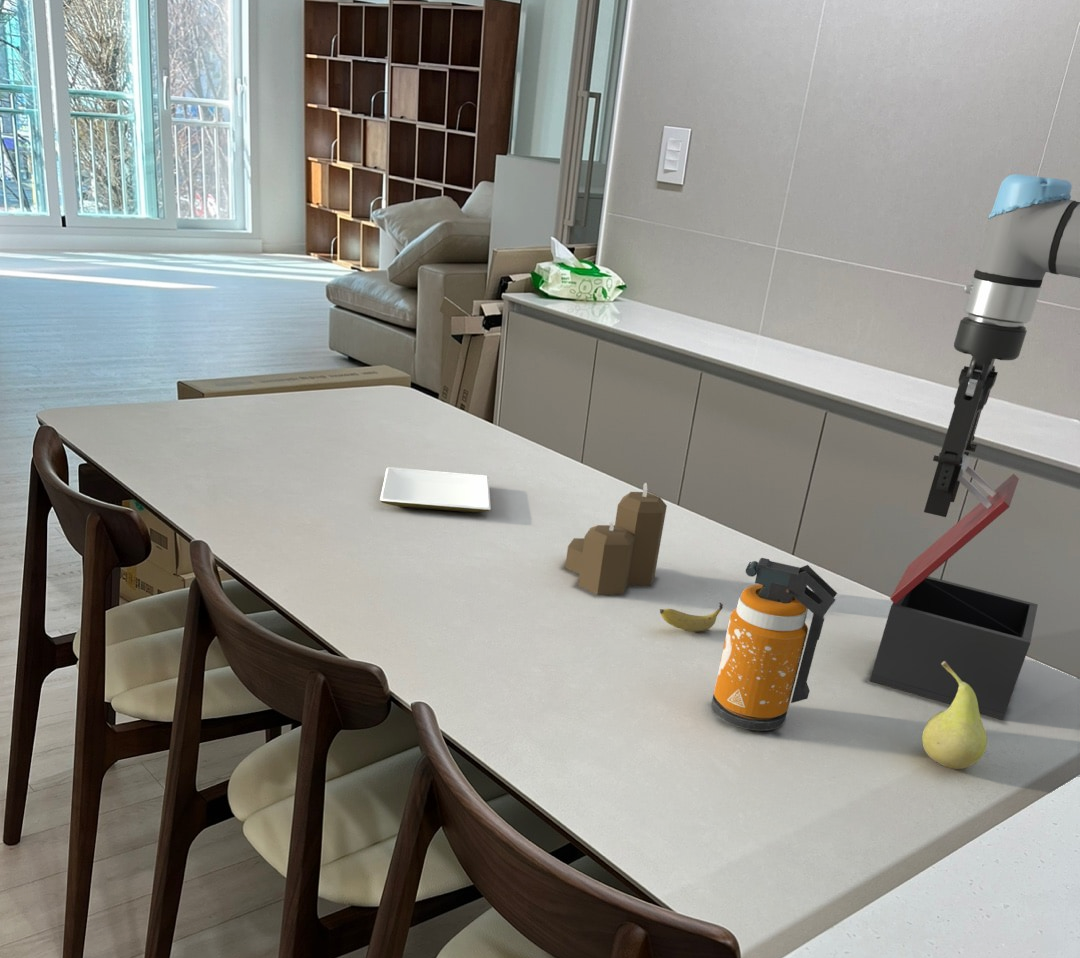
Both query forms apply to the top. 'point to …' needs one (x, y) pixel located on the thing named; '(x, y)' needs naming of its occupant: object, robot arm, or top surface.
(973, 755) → the fruit
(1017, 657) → the dark grey open box
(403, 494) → the plate
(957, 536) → the lid
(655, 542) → the candle
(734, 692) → the canister
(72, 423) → the top surface
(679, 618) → the banana
